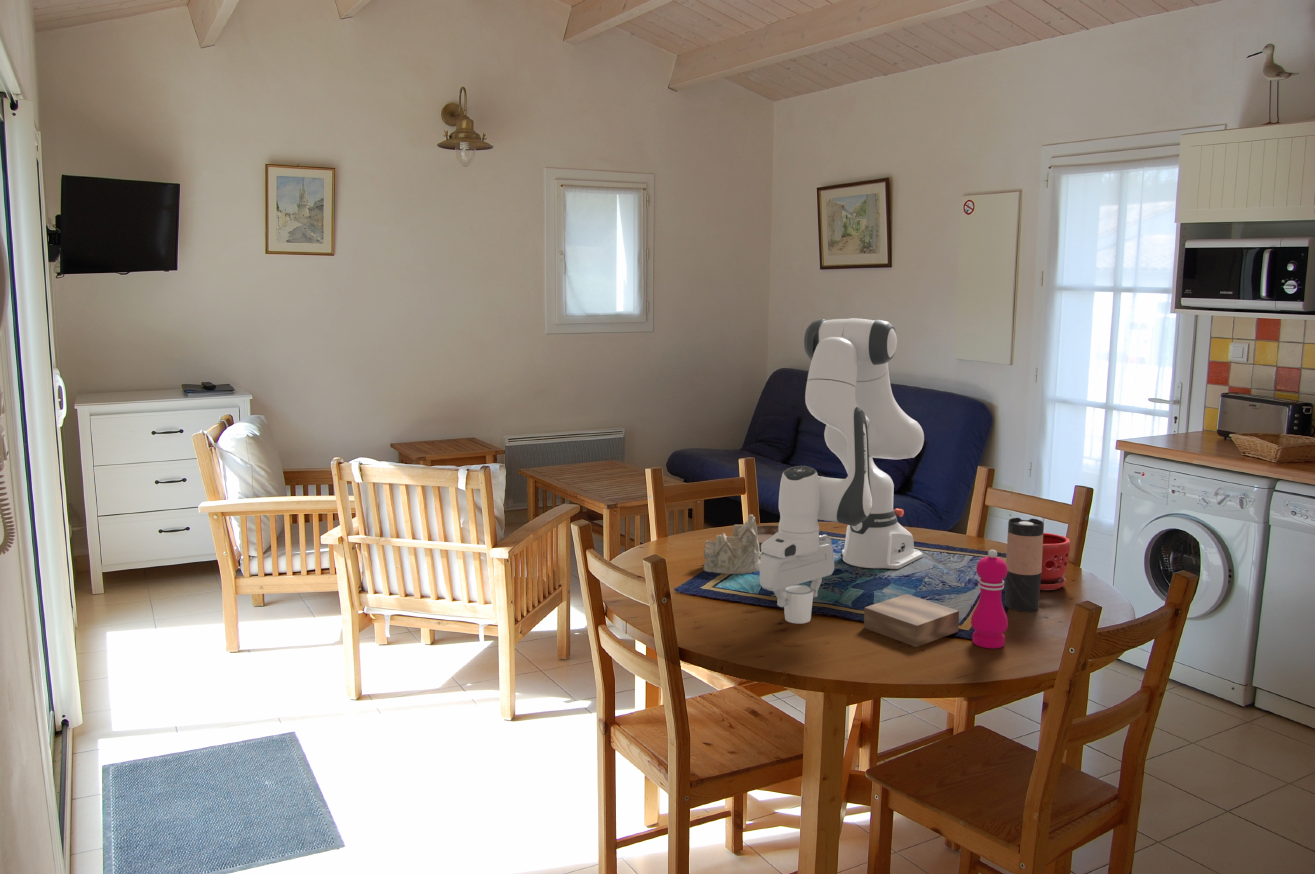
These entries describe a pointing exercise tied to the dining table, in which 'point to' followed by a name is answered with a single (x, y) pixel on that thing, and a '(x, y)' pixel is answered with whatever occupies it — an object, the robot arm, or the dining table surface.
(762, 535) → the plant saucer
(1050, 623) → the dining table surface
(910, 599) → the walnut base block
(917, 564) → the dining table surface
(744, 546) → the ceramic cottage
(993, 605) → the pepper mill
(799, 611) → the white cup
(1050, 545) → the plant pot
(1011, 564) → the travel mug
